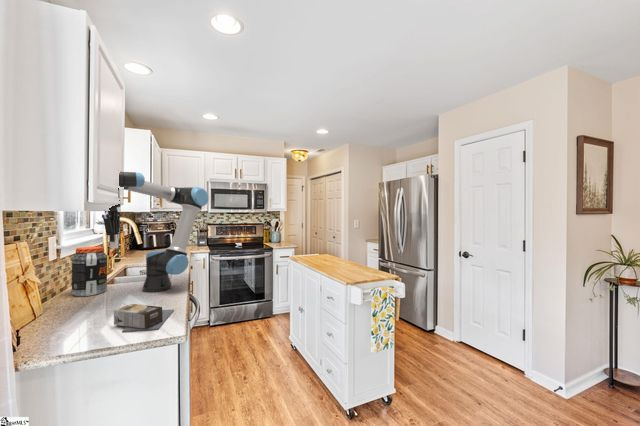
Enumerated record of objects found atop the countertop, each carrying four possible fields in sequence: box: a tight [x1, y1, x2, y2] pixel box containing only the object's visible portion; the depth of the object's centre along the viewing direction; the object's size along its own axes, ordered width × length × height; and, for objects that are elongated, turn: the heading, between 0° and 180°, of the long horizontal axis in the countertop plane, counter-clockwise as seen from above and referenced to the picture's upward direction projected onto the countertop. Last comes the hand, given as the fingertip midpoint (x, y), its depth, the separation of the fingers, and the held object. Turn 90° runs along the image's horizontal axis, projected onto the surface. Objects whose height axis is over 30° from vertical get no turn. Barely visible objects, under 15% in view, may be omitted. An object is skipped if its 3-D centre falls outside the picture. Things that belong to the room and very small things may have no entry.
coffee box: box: [113, 303, 163, 329], centre depth 120 cm, size 9×6×16 cm
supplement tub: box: [71, 245, 108, 297], centre depth 163 cm, size 16×16×26 cm
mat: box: [121, 308, 175, 333], centre depth 125 cm, size 22×13×1 cm, turn 12°
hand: (114, 248), depth 138 cm, fingers closed
